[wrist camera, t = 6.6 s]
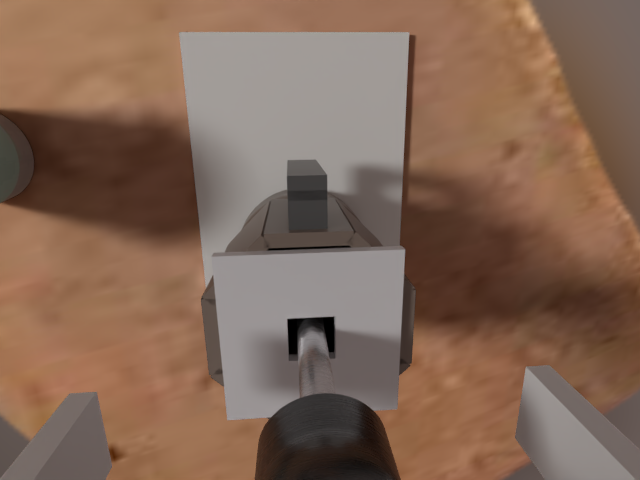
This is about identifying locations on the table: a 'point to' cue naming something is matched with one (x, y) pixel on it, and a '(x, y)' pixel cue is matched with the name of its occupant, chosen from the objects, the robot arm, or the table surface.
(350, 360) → the grey french press
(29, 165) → the coffee cup
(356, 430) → the plunger
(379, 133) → the mat
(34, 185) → the table surface
